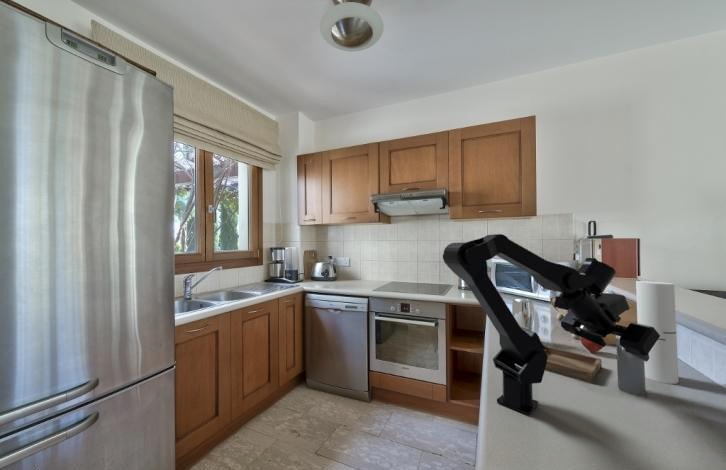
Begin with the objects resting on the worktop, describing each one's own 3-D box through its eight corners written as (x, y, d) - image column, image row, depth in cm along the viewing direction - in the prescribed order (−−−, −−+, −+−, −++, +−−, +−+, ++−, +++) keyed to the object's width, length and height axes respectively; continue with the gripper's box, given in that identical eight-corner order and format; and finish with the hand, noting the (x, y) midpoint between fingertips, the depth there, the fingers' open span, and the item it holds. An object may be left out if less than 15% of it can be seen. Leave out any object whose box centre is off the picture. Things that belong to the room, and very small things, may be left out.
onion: (577, 351, 93) (576, 326, 93) (587, 348, 95) (586, 324, 95) (598, 357, 87) (597, 331, 88) (608, 354, 90) (607, 329, 90)
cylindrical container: (687, 385, 70) (682, 284, 71) (653, 382, 71) (649, 283, 72) (662, 372, 77) (659, 281, 78) (632, 370, 78) (629, 280, 79)
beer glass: (533, 346, 97) (532, 302, 98) (511, 341, 101) (510, 300, 102) (535, 340, 103) (534, 299, 103) (514, 337, 107) (513, 297, 108)
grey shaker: (645, 398, 64) (643, 340, 64) (616, 389, 67) (614, 335, 68) (647, 390, 67) (644, 335, 68) (618, 383, 71) (617, 331, 71)
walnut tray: (591, 383, 70) (591, 373, 70) (530, 365, 81) (529, 357, 81) (601, 367, 80) (601, 359, 80) (545, 353, 90) (544, 345, 90)
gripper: (650, 288, 58) (693, 339, 59) (568, 278, 76) (602, 317, 78) (622, 329, 56) (667, 380, 57) (544, 309, 74) (580, 348, 76)
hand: (624, 352), depth 67 cm, fingers open, 9 cm apart
